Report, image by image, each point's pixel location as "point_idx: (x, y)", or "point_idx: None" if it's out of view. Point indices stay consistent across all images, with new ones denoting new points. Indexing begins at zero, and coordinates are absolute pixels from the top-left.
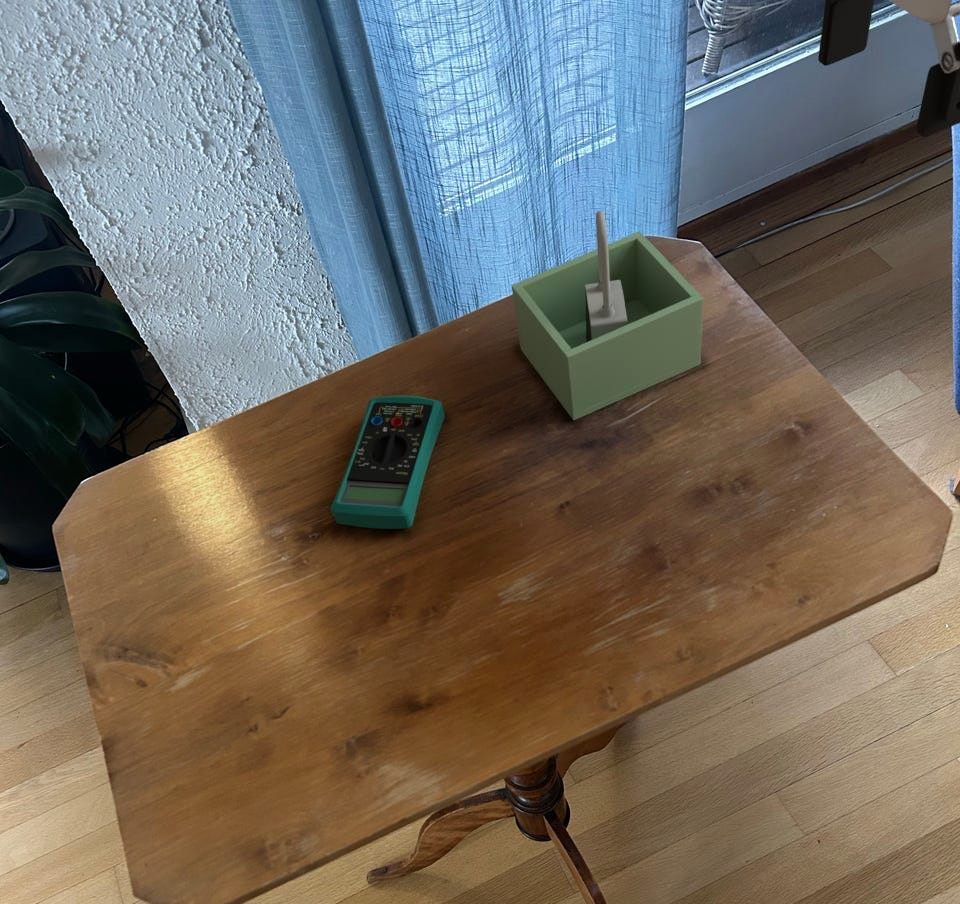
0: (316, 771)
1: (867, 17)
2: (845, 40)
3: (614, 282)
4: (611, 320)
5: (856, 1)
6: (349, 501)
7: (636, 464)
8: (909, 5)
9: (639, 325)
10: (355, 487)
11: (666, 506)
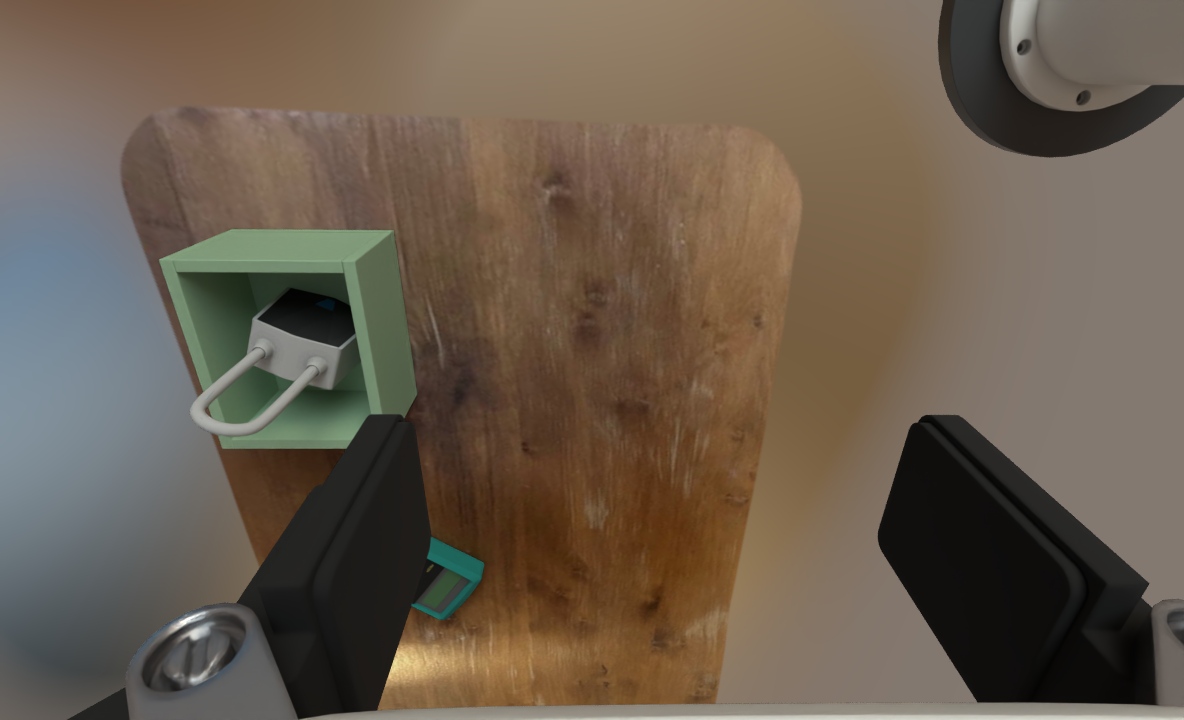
0: (662, 663)
1: (379, 510)
2: (408, 539)
3: (257, 330)
4: (333, 366)
5: (355, 630)
6: (440, 607)
7: (510, 368)
8: None
9: (371, 357)
10: (425, 598)
11: (579, 370)
